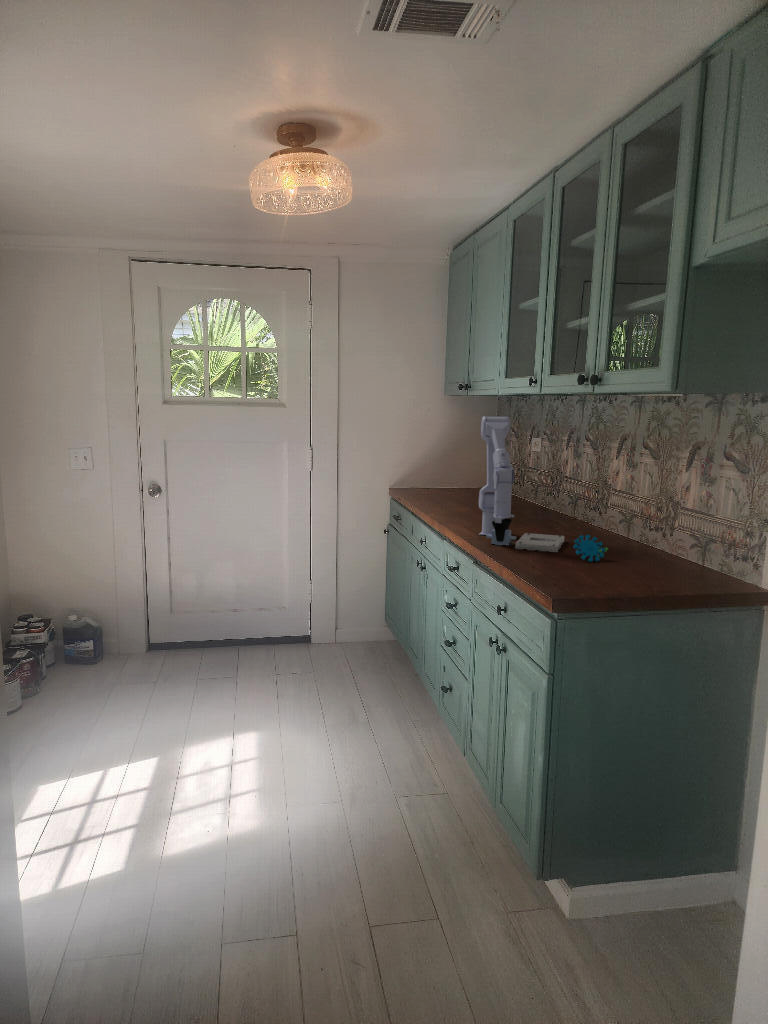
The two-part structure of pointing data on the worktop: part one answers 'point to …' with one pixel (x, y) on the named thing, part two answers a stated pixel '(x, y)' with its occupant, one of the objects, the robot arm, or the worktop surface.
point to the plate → (540, 542)
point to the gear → (589, 548)
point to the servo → (506, 538)
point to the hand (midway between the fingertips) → (501, 540)
